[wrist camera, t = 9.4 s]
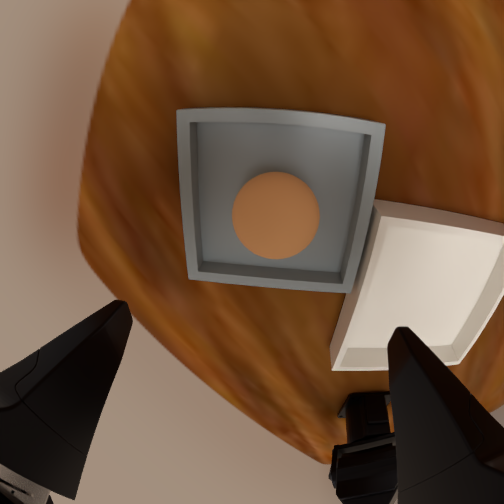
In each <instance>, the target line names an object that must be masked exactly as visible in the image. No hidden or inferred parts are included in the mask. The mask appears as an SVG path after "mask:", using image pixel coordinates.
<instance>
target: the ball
mask: <svg viewBox="0 0 504 504" xmlns="http://www.w3.org/2000/svg"><path fill="white" fill-rule="evenodd" d="M319 220H320V211H319V205H318V202H317V199H316V197H315V195H314V193H313V191H312V190H311V189H310V187H309V186H308V185H307V184H306V183H305V182H303V181H302V180H301V179H299V178H297V177H296V176H294V175H291V174H288V173H284V172H267V173H263V174H260V175H258V176H256V177H254V178H252V179H251V180H249V181H248V182H247V183H246V184H245V185H244V186H243V187H242V188H241V189H240V191H239V192H238V194H237V196H236V198H235V201H234V204H233V208H232V222H233V227H234V230H235V232H236V235H237V237H238V238H239V240H240V241H241V243H242V244H243V245H244V246H245V247H246V248H247V249H248V250H250V251H251V252H253V253H254V254H256V255H258V256H261V257H264V258H268V259H284V258H289V257H292V256H294V255H296V254H298V253H299V252H301V251H302V250H304V249H305V248H306V247H307V246H308V245H309V244H310V243H311V241H312V240H313V238H314V236H315V234H316V232H317V230H318V226H319Z"/></svg>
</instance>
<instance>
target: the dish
mask: <svg viewBox="0 0 504 504" xmlns="http://www.w3.org/2000/svg"><path fill="white" fill-rule="evenodd" d="M503 295H504V224H503V223H499V222H495V221H491V220H487V219H482V218H478V217H473V216H469V215H464V214H459V213H454V212H449V211H444V210H439V209H433V208H428V207H422V206H416V205H410V204H404V203H398V202H391V201H384V200H377V199H374V202H373V207H372V212H371V216H370V221H369V225H368V230H367V234H366V238H365V242H364V247H363V251H362V255H361V258H360V262H359V266H358V270H357V273H356V277H355V281H354V284H353V287H352V291H351V294H350V293H346V296H345V299H344V303H343V306H342V309H341V313H340V316H339V319H338V322H337V325H336V329H335V332H334V335H333V338H332V341H331V344H330V356H331V368H332V371H374V370H388V354H387V346H388V342H389V340H390V338H391V336H392V334H393V332H394V330H395V329H396V327H398V326H407V327H409V328H410V329H411V330H412V331H413V332H414V333H415V334H416V335H417V336H418V337H419V338H420V339H421V340H422V341H423V342H424V343H425V344H426V345H427V346H428V347H429V348H430V349H431V350H432V351H433V352H434V353H435V355H436V356H437V357H438V358H439V359H440V360H441V361H442V362H443V363H444V364H445V365H446V366H447V365H455V364H460V362H461V361H462V360H463V358H464V357H465V355H466V354H467V353H468V351H469V350H470V348H471V347H472V346H473V344H474V343H475V341H476V340H477V338H478V337H479V335H480V334H481V332H482V331H483V329H484V327H485V326H486V324H487V323H488V321H489V319H490V318H491V316H492V314H493V313H494V311H495V309H496V307H497V306H498V304H499V302H500V300H501V298H502V296H503Z"/></svg>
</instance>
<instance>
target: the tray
mask: <svg viewBox="0 0 504 504" xmlns="http://www.w3.org/2000/svg"><path fill="white" fill-rule="evenodd" d="M385 126H386V124H383V123H380V122H376V121H372V120H367V119H361V118H356V117H350V116H343V115H336V114H329V113H321V112H312V111H302V110H291V109H277V108H256V107H202V108H186V109H180V110H177V145H178V166H179V183H180V197H181V210H182V222H183V232H184V242H185V252H186V261H187V269H188V278H189V279H191V280H200V281H209V282H219V283H228V284H238V285H249V286H259V287H271V288H282V289H294V290H307V291H321V292H335V293H350V294H351V291H352V287H353V284H354V281H355V277H356V273H357V270H358V266H359V262H360V258H361V255H362V251H363V247H364V242H365V238H366V234H367V230H368V225H369V221H370V216H371V212H372V207H373V202H374V197H375V191H376V186H377V180H378V175H379V169H380V162H381V156H382V149H383V142H384V134H385ZM267 172H284V173H288V174H291V175H294V176H296V177H297V178H299V179H301V180H302V181H303V182H305V183H306V184H307V185H308V186H309V187H310V189H311V190H312V191H313V193H314V195H315V197H316V199H317V202H318V205H319V211H320V220H319V226H318V230H317V232H316V234H315V236H314V238H313V240H312V241H311V243H310V244H309V245H308V246H307V247H306V248H305V249H304V250H302V251H301V252H299V253H298V254H296V255H294V256H292V257H289V258H284V259H268V258H264V257H261V256H258V255H256V254H254V253H253V252H251V251H250V250H248V249H247V248H246V247H245V246H244V245H243V244H242V243H241V241H240V240H239V238H238V237H237V235H236V232H235V230H234V227H233V222H232V208H233V204H234V201H235V198H236V196H237V194H238V192H239V191H240V189H241V188H242V187H243V186H244V185H245V184H246V183H247V182H248V181H249V180H251V179H252V178H254V177H256V176H258V175H260V174H263V173H267Z"/></svg>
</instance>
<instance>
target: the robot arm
mask: <svg viewBox="0 0 504 504" xmlns="http://www.w3.org/2000/svg"><path fill="white" fill-rule="evenodd" d="M132 322H133V320H132V316H131V313H130V310H129V307H128V304H127V302H125V301H121V300H114V301H112V302H111V303H109V304H108V305H106V306H105V307H103V308H102V309H100V310H98V311H97V312H95V313H93V314H92V315H90V316H89V317H87V318H86V319H84V320H83V321H81V322H79V323H78V324H76V325H75V326H73V327H72V328H70V329H69V330H67V331H66V332H64V333H63V334H61V335H59V336H58V337H56V338H55V339H53V340H52V341H50V342H49V343H47V344H46V345H44V346H43V347H41V348H40V349H38V350H37V351H35V352H34V353H32V354H31V355H29V356H27V357H26V358H24V359H23V360H21V361H20V362H18V363H16V364H14V365H13V366H11V367H10V368H7V369H6V370H4V371H2V372H0V504H53V501H52V499H51V496H50V495H49V493H50V491H53V492H55V493H57V494H60V495H62V496H65V497H67V498H70V499H72V500H75V497H76V494H77V490H78V486H79V483H80V479H81V475H82V472H83V468H84V465H85V461H86V458H87V454H88V451H89V448H90V445H91V442H92V439H93V436H94V433H95V430H96V427H97V424H98V421H99V418H100V415H101V412H102V409H103V407H104V404H105V401H106V399H107V396H108V393H109V391H110V388H111V386H112V383H113V380H114V378H115V375H116V373H117V370H118V368H119V365H120V363H121V360H122V357H123V354H124V350H125V347H126V343H127V340H128V337H129V333H130V330H131V326H132ZM387 354H388V370H389V389H390V392H385V393H365V394H351V395H349V397H348V398H347V400H346V402H345V403H344V405H343V406H342V408H341V410H340V411H339V413H338V418H346V430H347V444H343V445H334V449H333V450H332V464H331V468H330V473H329V479H330V480H331V481H332V483H333V486H334V488H336V495H337V496H338V498H339V499H340V501H341V502H342V503H343V504H394V502H395V501H396V499H397V497H398V504H504V428H503V427H502V426H501V425H500V424H499V423H498V422H497V421H496V420H495V419H494V418H493V417H492V416H491V415H490V414H489V413H488V411H487V410H486V409H485V408H484V407H483V406H482V405H481V404H480V403H479V402H478V401H477V399H476V398H475V397H474V396H473V395H472V394H470V392H469V390H468V389H467V388H466V387H465V386H464V385H463V384H462V383H461V382H460V380H459V379H458V378H457V377H456V376H455V375H454V374H453V373H452V372H451V371H450V369H449V368H448V367H447V366H446V365H445V364H444V363H443V362H442V361H441V360H440V359H439V358H438V357H437V356H436V355H435V353H434V352H433V351H432V350H431V349H430V348H429V347H428V346H427V345H426V344H425V343H424V342H423V341H422V340H421V339H420V338H419V337H418V336H417V335H416V334H415V333H414V332H413V331H412V330H411V329H410V328H409V327H407V326H398V327H396V329H395V330H394V332H393V334H392V336H391V338H390V340H389V342H388V346H387ZM390 401H391V404H392V412H393V421H394V431H395V432H393V433H391V432H390V425H389V418H388V411H387V405H388V404H389V402H390Z"/></svg>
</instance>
